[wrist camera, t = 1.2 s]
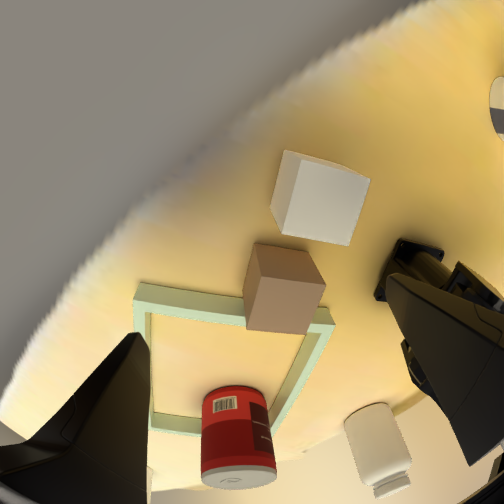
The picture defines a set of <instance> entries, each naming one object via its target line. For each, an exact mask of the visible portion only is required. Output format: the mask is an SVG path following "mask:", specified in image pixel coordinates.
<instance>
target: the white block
mask: <svg viewBox="0 0 504 504" xmlns="http://www.w3.org/2000/svg"><path fill="white" fill-rule="evenodd" d="M370 181H371V179H369V178H367V177H365V176H363V175H361V174H359V173H357V172H355V171H353V170H351V169H349V168H347V167H345V166H343V165H341V164H337V163H334V162H330V161H327V160H323V159H320V158H316V157H312V156H309V155H305V154H301V153H297V152H293V151H289V150H285V149H284V152H283V156H282V160H281V164H280V168H279V172H278V176H277V180H276V184H275V188H274V192H273V196H272V200H271V204H270V210H271V212H272V214H273V217H274V219H275V221H276V223H277V225H278V227H279V230H280V232H281V234H285V235H290V236H296V237H301V238H307V239H312V240H317V241H323V242H328V243H333V244H338V245H343V246H349V243H350V240H351V237H352V235H353V232H354V229H355V226H356V223H357V220H358V218H359V215H360V212H361V209H362V206H363V203H364V200H365V196H366V193H367V190H368V187H369V184H370Z"/></svg>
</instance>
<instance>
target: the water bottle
mask: <svg viewBox="0 0 504 504" xmlns="http://www.w3.org/2000/svg"><path fill="white" fill-rule="evenodd" d="M489 104H490V113H491V118H492V122H493V125H494V128H495V130H496V132H497V134H498V136H499V137H500V139H501V140H502V141H504V77H498V78H496V79H495V80H494V82H493V83H492V86H491V90H490V98H489Z"/></svg>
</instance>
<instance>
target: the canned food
mask: <svg viewBox="0 0 504 504" xmlns="http://www.w3.org/2000/svg"><path fill="white" fill-rule="evenodd" d="M201 478H202V482H203V483H204V484H205V485H207V486H210V487H213V488H219V489H228V490H240V489H250V488H256V487H260V486H264V485H267V484H269V483H271V482H273V481H274V480H276V478H277V469H276V462H275V455H274V449H273V443H272V437H271V430H270V424H269V418H268V411H267V405H266V401H265V399H264V397H263V396H262V394H261V393H260V392H258V391H257V390H254V389H252V388H248V387H242V386H230V387H224V388H220V389H217V390H215V391H213V392H211V393H210V394H208V395H207V397H206V398H205V400H204V402H203V405H202V426H201Z"/></svg>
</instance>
